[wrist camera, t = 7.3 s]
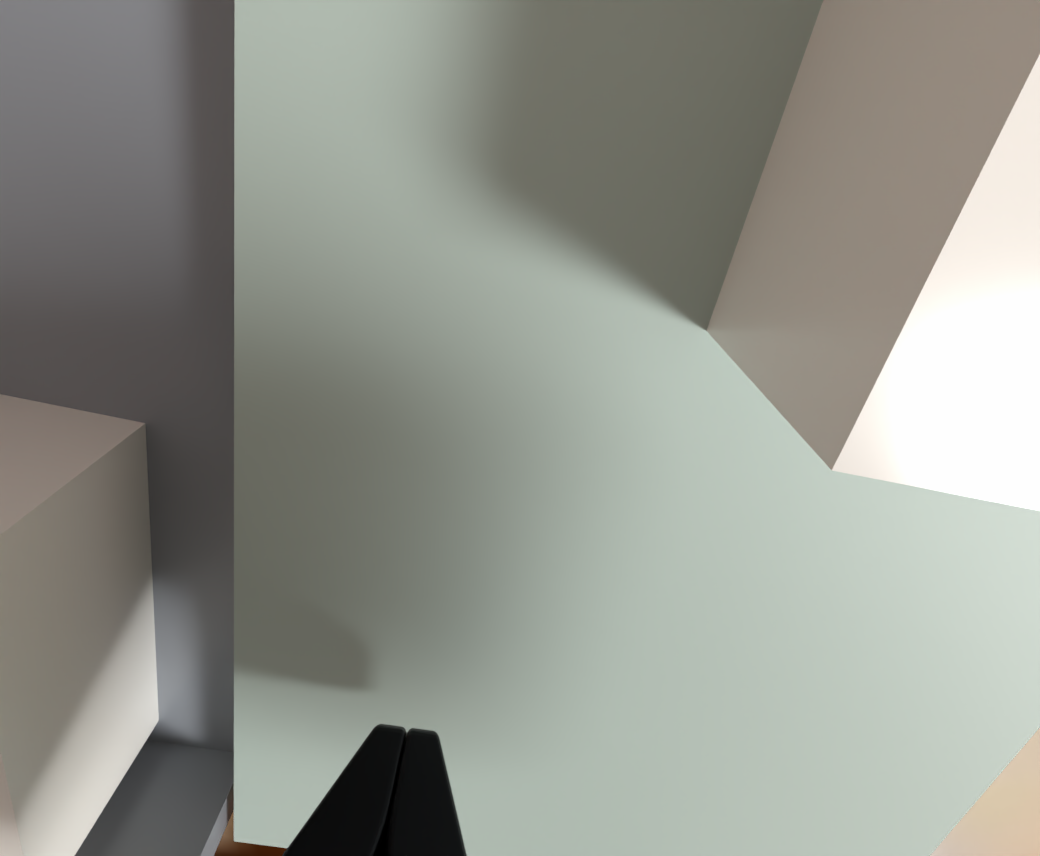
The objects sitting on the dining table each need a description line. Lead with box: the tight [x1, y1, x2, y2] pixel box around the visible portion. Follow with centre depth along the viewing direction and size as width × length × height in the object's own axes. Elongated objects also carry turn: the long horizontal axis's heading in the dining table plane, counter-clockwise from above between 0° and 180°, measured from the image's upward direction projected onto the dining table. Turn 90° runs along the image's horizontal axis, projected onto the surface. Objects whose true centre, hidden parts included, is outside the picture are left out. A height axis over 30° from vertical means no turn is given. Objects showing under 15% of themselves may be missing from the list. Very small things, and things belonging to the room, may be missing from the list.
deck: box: [234, 0, 1040, 856], centre depth 8 cm, size 19×12×2 cm, turn 168°
